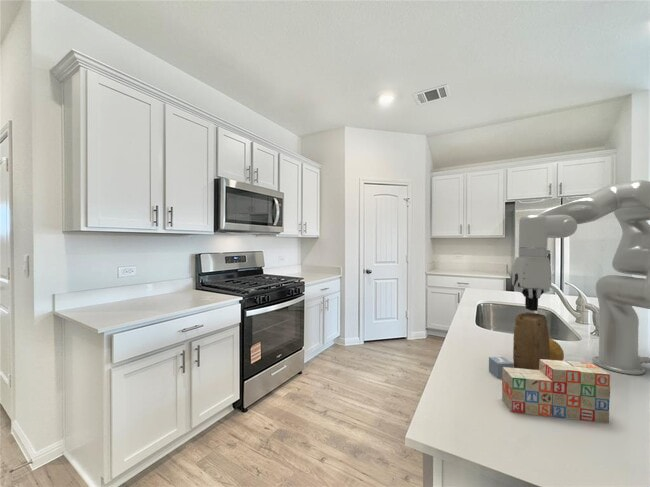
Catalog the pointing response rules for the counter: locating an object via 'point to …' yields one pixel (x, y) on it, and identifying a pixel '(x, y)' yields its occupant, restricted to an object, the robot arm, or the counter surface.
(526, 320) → the brown rock
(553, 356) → the potato
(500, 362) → the alphabet block
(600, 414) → the stack of blocks
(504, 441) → the counter surface
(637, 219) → the robot arm
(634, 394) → the counter surface
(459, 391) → the counter surface
